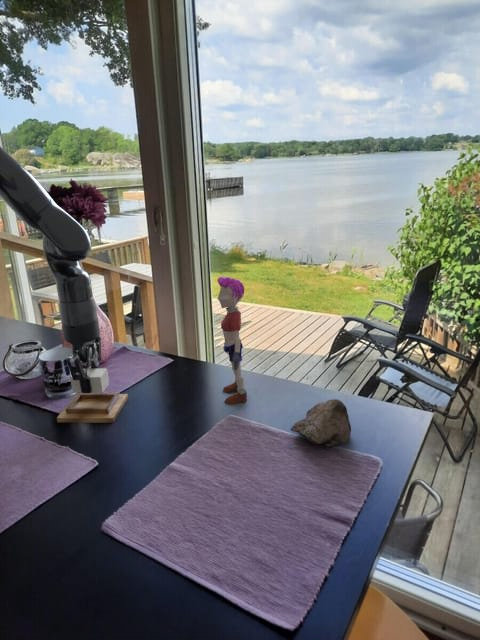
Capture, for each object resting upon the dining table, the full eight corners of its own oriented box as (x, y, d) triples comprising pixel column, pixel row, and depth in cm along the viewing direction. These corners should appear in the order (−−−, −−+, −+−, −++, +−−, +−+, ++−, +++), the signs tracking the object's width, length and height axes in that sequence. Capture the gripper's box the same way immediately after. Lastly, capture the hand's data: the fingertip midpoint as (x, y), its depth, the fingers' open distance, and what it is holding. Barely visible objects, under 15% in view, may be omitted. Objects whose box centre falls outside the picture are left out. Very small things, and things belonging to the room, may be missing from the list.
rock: (288, 436, 97) (275, 400, 93) (332, 412, 99) (322, 376, 95) (317, 472, 85) (304, 433, 81) (366, 444, 88) (356, 405, 84)
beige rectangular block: (72, 392, 101) (70, 377, 99) (80, 383, 105) (78, 368, 103) (102, 392, 100) (100, 377, 99) (109, 383, 104) (107, 368, 103)
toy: (220, 381, 116) (214, 269, 106) (244, 379, 117) (240, 268, 106) (224, 413, 101) (218, 286, 91) (252, 410, 102) (249, 284, 92)
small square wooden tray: (57, 422, 100) (55, 413, 99) (77, 397, 110) (75, 389, 109) (113, 422, 99) (112, 413, 98) (128, 398, 109) (127, 389, 108)
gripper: (76, 308, 104) (87, 373, 109) (47, 330, 90) (62, 403, 96) (107, 307, 103) (116, 373, 109) (83, 329, 90) (95, 403, 95)
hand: (91, 386), depth 102 cm, fingers closed on beige rectangular block, 4 cm apart
